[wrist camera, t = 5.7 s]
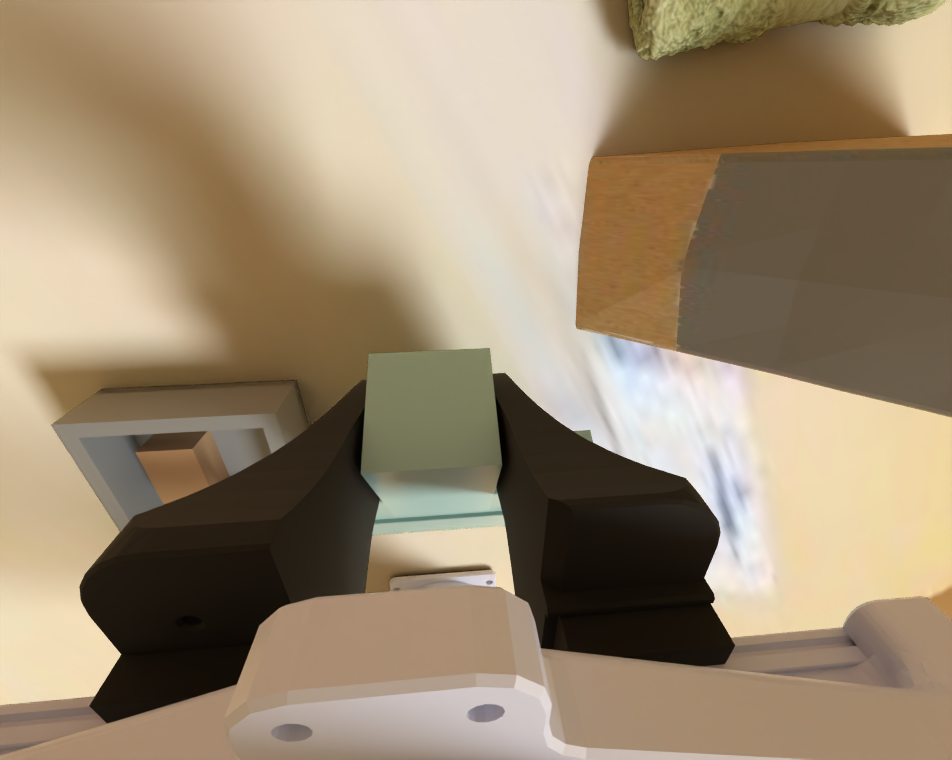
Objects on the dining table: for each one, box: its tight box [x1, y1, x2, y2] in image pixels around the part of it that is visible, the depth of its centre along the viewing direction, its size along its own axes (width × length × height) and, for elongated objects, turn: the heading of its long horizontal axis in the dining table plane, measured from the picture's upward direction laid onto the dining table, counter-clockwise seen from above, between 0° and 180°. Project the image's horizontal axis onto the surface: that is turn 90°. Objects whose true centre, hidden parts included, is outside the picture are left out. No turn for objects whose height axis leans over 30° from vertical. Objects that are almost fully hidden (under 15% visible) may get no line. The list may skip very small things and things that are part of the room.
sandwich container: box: [576, 134, 952, 417], centre depth 14 cm, size 9×15×15 cm, turn 92°
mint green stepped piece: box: [361, 348, 593, 535], centre depth 18 cm, size 20×11×3 cm, turn 1°
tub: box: [51, 380, 309, 532], centre depth 24 cm, size 14×10×3 cm
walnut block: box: [135, 431, 230, 504], centre depth 23 cm, size 4×3×2 cm
